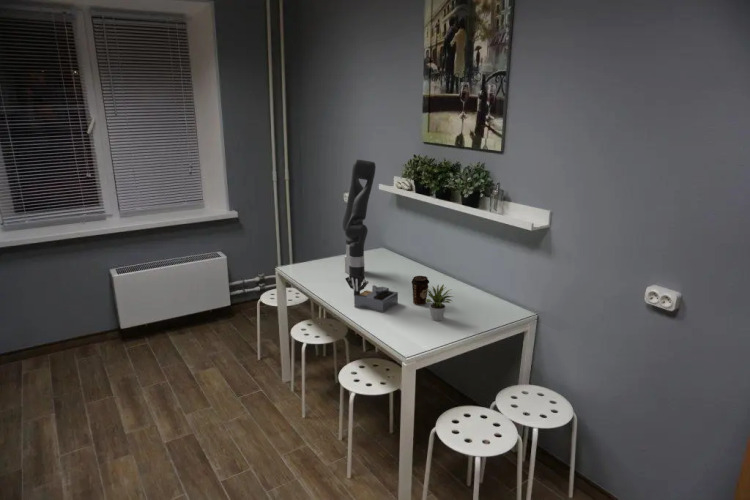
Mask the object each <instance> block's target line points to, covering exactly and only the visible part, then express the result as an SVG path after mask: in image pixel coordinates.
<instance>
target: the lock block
mask: <svg viewBox="0 0 750 500" xmlns="http://www.w3.org/2000/svg"><path fill="white" fill-rule="evenodd" d="M371 292H372V290H371V291H370V290H368V289H367V290H363V291H361V292H360V294H358V295H362V296H367V294H369V293H371ZM376 299H380V296H378V297H377V298H376Z"/></svg>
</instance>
